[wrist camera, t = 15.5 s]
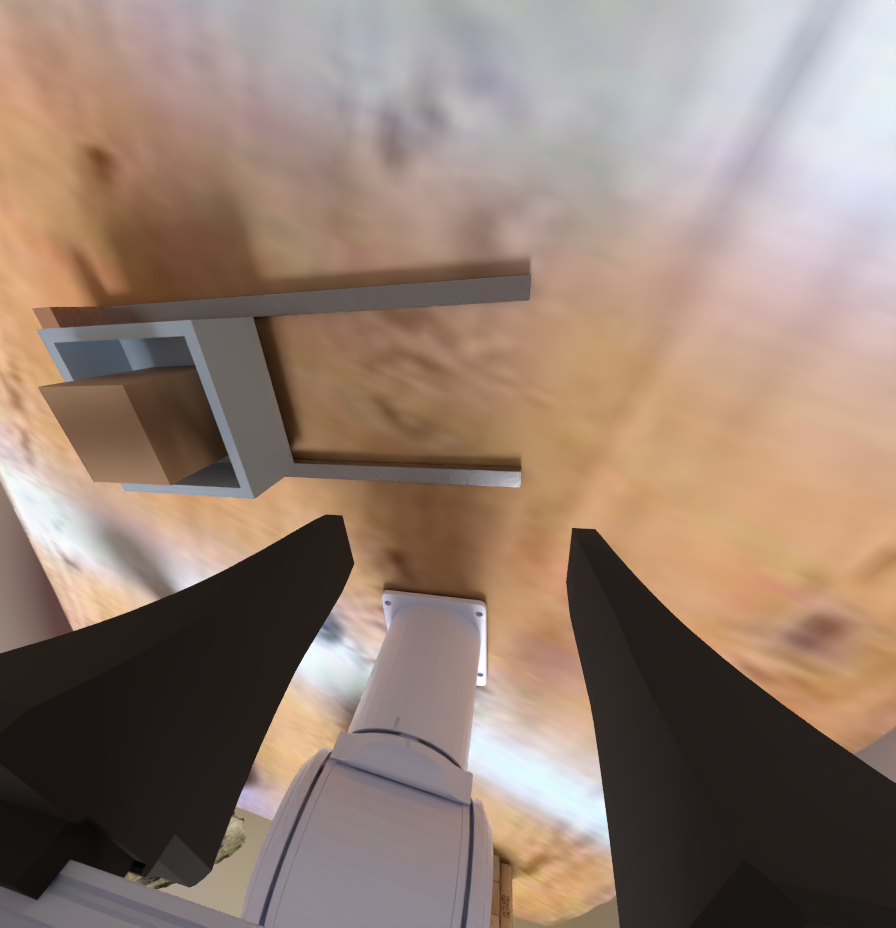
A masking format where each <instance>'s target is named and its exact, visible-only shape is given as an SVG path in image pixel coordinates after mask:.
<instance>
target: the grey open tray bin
mask: <svg viewBox="0 0 896 928" xmlns="http://www.w3.org/2000/svg"><path fill="white" fill-rule="evenodd" d="M36 330H37V332H38V333H39V335H40V337H41V339H42V341H43V343H44V344H45V346H46V348H47V350H48V352H49V353H50V355H51V357H52V359H53V361H54V363H55V364H56V366H57V368H58V370H59V372H60V374H61V375H62V377H63V379H64V381H65V382H70V381H76V380H82V379H87V378H93V377H99V376H105V375H110V374H116V373H122V372H128V371H134V370H139V369H145V368H151V367H165V366H193V365H195V366H196V369H197V371H198V374H199V377H200V380H201V382H202V385H203V388H204V390H205V393H206V396H207V398H208V401H209V404H210V406H211V409H212V412H213V415H214V417H215V420H216V423H217V425H218V428H219V431H220V433H221V436H222V439H223V441H224V444H225V447H226V450H227V452H228V456H226V457H224V458H222V459H220V460H218V461H217V462H215V463H213V464H211V465H209V466H207V467H205V468H203V469H201V470H199V471H197V472H195V473H194V474H192V475H190V476H188V477H186V478H184V479H182V480H180V481H178V482H176V483H174V484H172V485H151V484H132V483H121V485H122V487H123V489H124V491H136V492H152V493H168V494H184V495H200V496H216V497H232V498H248V499H255V498H256V497H258V496H259V495H260V494H262V493H263V492H264V491H266V490H267V489H269V488H270V487H271V486H273V485H274V484H275V483H277V482H278V481H279V480H281V479H282V478H283V477H285V476H286V475H287V474H289V473H290V472H292V471H293V470H294V469H296V468H295V465H294V461H293V458H292V454H291V450H290V447H289V443H288V440H287V436H286V433H285V429H284V425H283V422H282V418H281V415H280V411H279V408H278V404H277V401H276V397H275V393H274V390H273V386H272V383H271V379H270V376H269V372H268V369H267V365H266V361H265V358H264V354H263V351H262V347H261V344H260V340H259V337H258V333H257V329H256V326H255V322H254V319H253V317H240V318H220V319H199V320H181V321H165V322H149V323H132V324H116V325H100V326H84V327H67V328H51V329H36Z"/></svg>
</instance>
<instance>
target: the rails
mask: <svg viewBox="0 0 896 928" xmlns="http://www.w3.org/2000/svg"><path fill="white" fill-rule="evenodd" d="M530 276H531V274H530V275H517V276H504V277H490V278H477V279H464V280H451V281H437V282H424V283H411V284H398V285H384V286H371V287H358V288H345V289H331V290H318V291H305V292H292V293H278V294H265V295H252V296H239V297H225V298H212V299H199V300H186V301H172V302H159V303H146V304H133V305H119V306H106V307H45V308H32V309H33V311H34V313H35V315H36V316H37V318H38V320H39V322H40V324H41V326H42V328H43V329H51V328H67V327H84V326H100V325H116V324H132V323H149V322H165V321H181V320H199V319H220V318H240V317H263V316H279V315H296V314H312V313H329V312H345V311H362V310H378V309H394V308H411V307H427V306H444V305H460V304H477V303H493V302H510V301H526V300H529V297H530ZM293 461H294V465H295V468H296V469H294V470H293V471H292V472H290V473H289V474H287V475H286V476H285V477H306V478H327V479H349V480H370V481H392V482H413V483H435V484H456V485H478V486H499V487H521V467H502V466H473V465H444V464H415V463H387V462H358V461H329V460H300V459H293Z"/></svg>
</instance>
